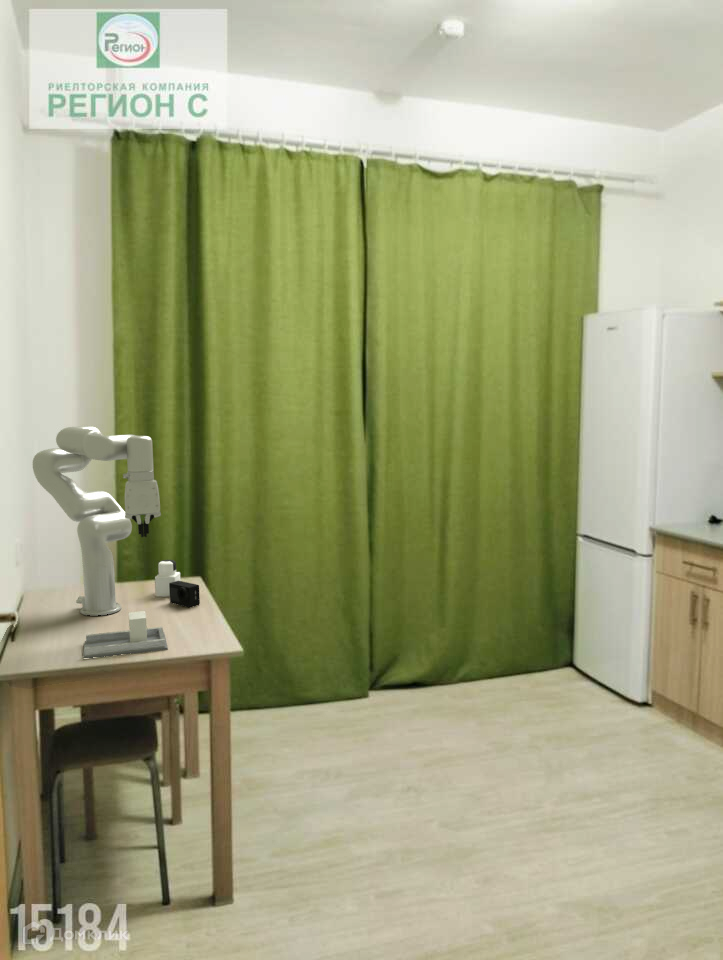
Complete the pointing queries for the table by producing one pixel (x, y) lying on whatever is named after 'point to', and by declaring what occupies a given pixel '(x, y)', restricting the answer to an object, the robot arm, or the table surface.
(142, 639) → the block
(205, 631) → the table surface
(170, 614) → the table surface
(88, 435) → the robot arm
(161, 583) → the medicine bottle
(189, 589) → the digital camera
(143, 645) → the rail guides
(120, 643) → the plate
